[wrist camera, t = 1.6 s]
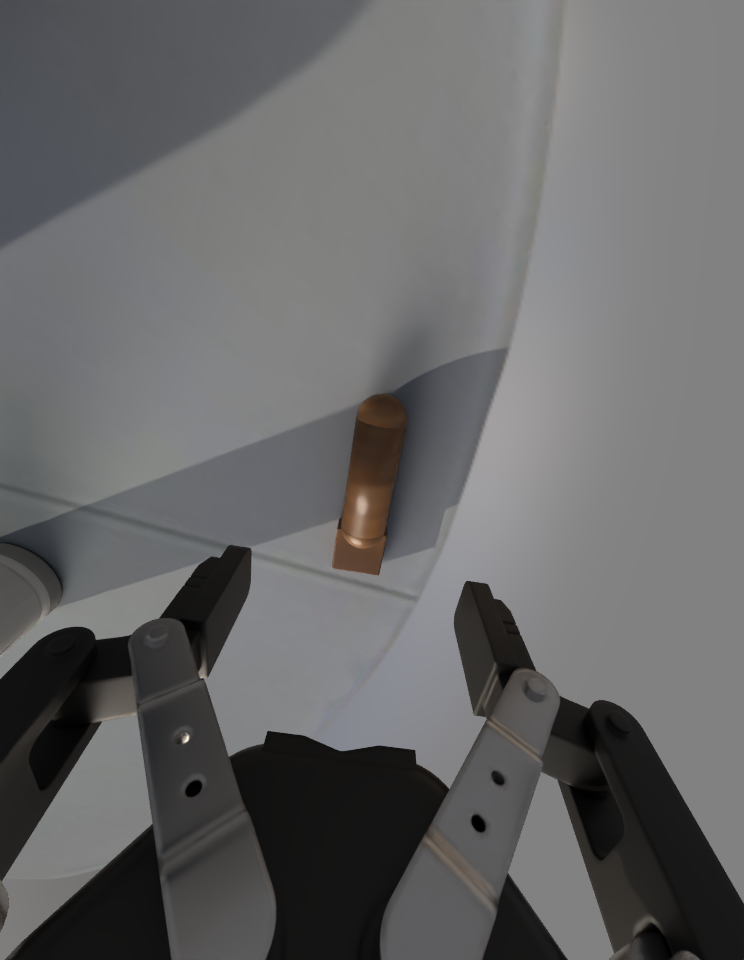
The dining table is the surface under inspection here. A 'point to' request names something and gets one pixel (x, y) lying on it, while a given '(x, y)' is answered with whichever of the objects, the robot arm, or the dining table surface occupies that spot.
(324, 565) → the dining table surface
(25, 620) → the travel mug
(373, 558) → the brown rounded bar
